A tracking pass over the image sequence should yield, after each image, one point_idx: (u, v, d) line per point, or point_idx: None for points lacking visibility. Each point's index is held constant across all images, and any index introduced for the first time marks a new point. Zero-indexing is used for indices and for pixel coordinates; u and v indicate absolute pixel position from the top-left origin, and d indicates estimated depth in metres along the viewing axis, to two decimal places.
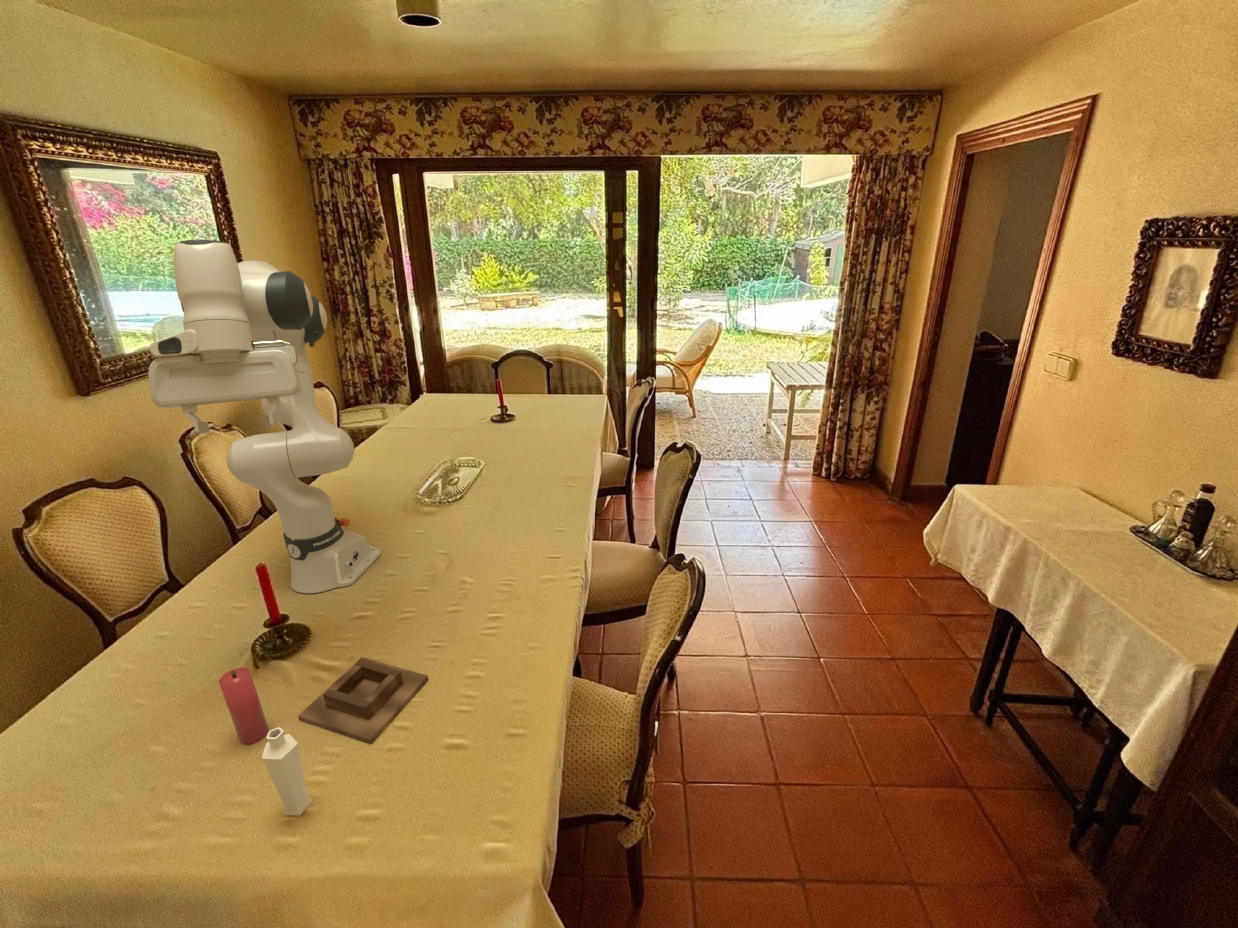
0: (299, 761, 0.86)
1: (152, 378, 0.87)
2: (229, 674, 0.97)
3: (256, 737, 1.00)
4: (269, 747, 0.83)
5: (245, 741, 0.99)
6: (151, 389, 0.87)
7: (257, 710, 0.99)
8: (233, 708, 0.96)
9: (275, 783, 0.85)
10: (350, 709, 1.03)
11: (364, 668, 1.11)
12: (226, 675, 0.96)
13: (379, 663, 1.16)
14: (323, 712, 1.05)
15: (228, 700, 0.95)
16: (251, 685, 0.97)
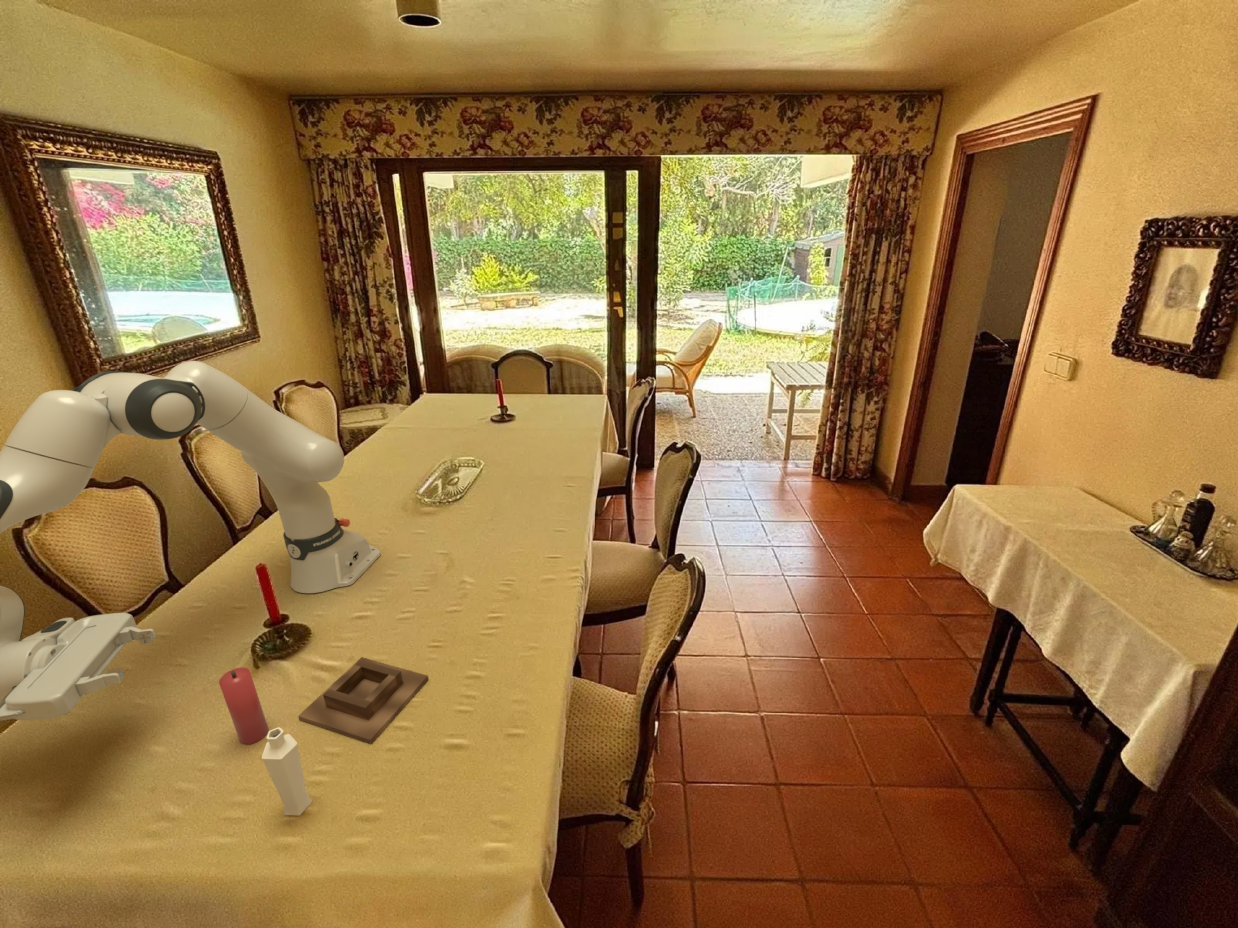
0: (299, 761, 0.86)
1: None
2: (229, 674, 0.97)
3: (256, 737, 1.00)
4: (269, 747, 0.83)
5: (245, 741, 0.99)
6: None
7: (257, 710, 0.99)
8: (233, 708, 0.96)
9: (275, 783, 0.85)
10: (350, 709, 1.03)
11: (364, 668, 1.11)
12: (226, 675, 0.96)
13: (379, 663, 1.16)
14: (323, 712, 1.05)
15: (228, 700, 0.95)
16: (251, 685, 0.97)
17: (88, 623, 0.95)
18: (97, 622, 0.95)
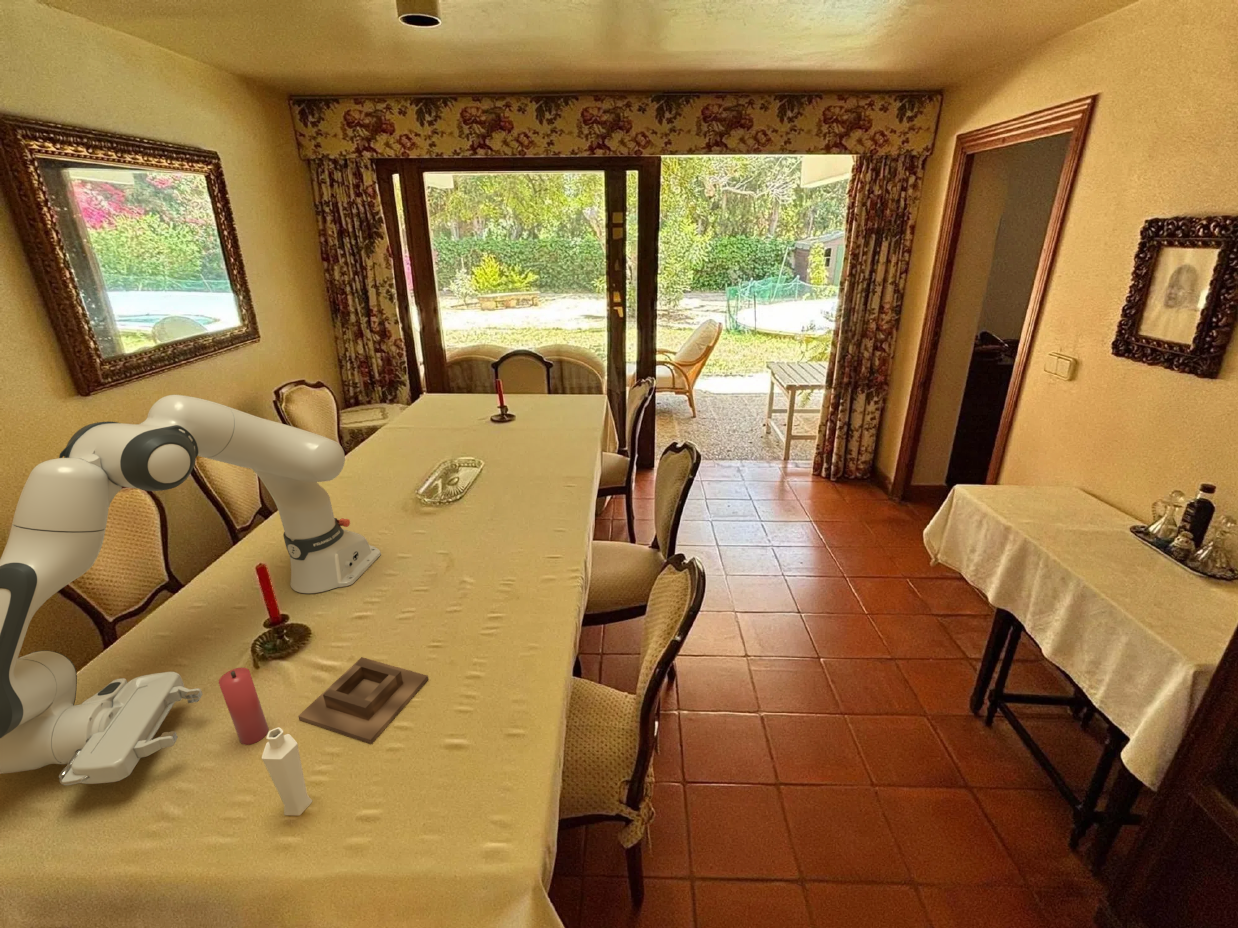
0: (299, 761, 0.86)
1: None
2: (229, 674, 0.97)
3: (256, 737, 1.00)
4: (269, 747, 0.83)
5: (245, 741, 0.99)
6: None
7: (257, 710, 0.99)
8: (233, 708, 0.96)
9: (275, 783, 0.85)
10: (350, 709, 1.03)
11: (364, 668, 1.11)
12: (225, 675, 0.96)
13: (379, 663, 1.16)
14: (323, 712, 1.05)
15: (228, 700, 0.95)
16: (251, 685, 0.97)
17: (140, 683, 1.01)
18: (148, 682, 1.02)
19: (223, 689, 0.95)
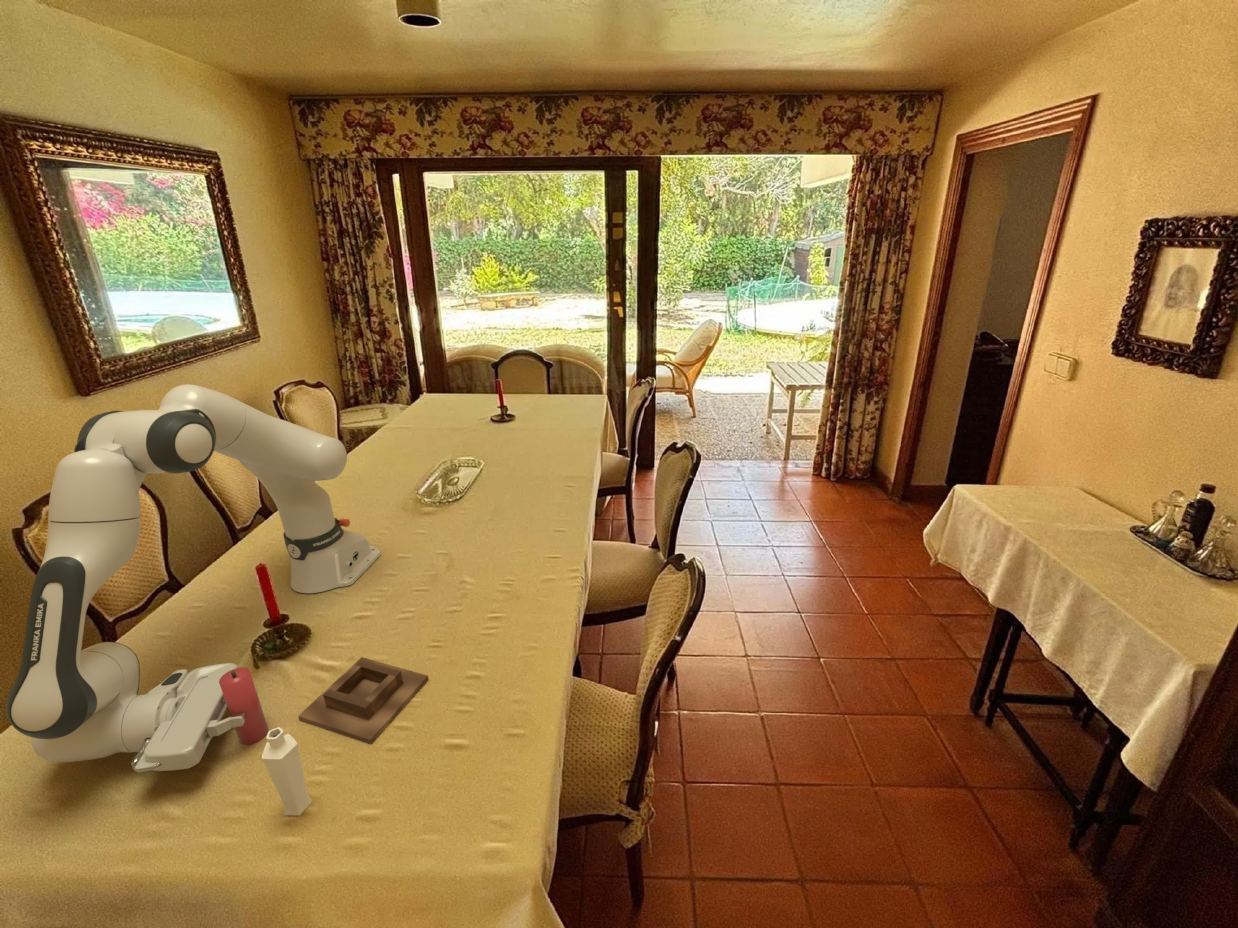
0: (299, 761, 0.86)
1: None
2: (229, 674, 0.97)
3: (256, 737, 1.00)
4: (269, 747, 0.83)
5: (245, 741, 0.99)
6: None
7: (257, 710, 0.99)
8: (233, 708, 0.96)
9: (275, 783, 0.85)
10: (350, 709, 1.03)
11: (364, 668, 1.11)
12: (226, 675, 0.96)
13: (379, 663, 1.16)
14: (323, 712, 1.05)
15: (228, 700, 0.95)
16: (251, 685, 0.97)
17: (200, 674, 1.03)
18: (208, 673, 1.03)
19: (223, 689, 0.95)
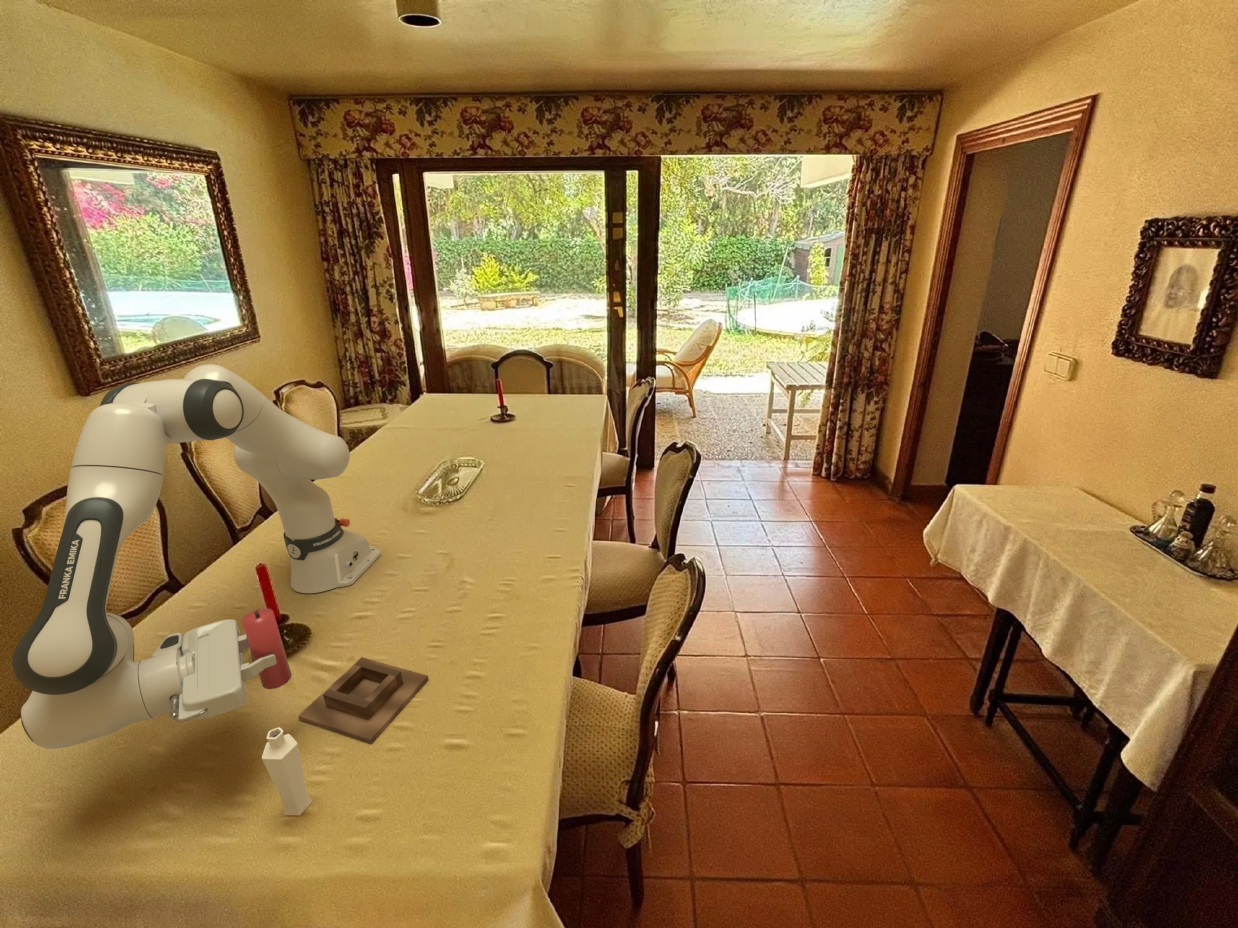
0: (299, 761, 0.86)
1: None
2: (249, 616, 0.93)
3: (284, 678, 0.97)
4: (269, 747, 0.83)
5: (273, 685, 0.96)
6: None
7: (283, 650, 0.96)
8: (262, 648, 0.93)
9: (275, 783, 0.85)
10: (350, 709, 1.03)
11: (364, 668, 1.11)
12: (246, 618, 0.92)
13: (379, 663, 1.16)
14: (323, 712, 1.05)
15: (256, 641, 0.92)
16: (276, 623, 0.95)
17: (198, 634, 0.96)
18: (206, 631, 0.96)
19: (251, 629, 0.91)
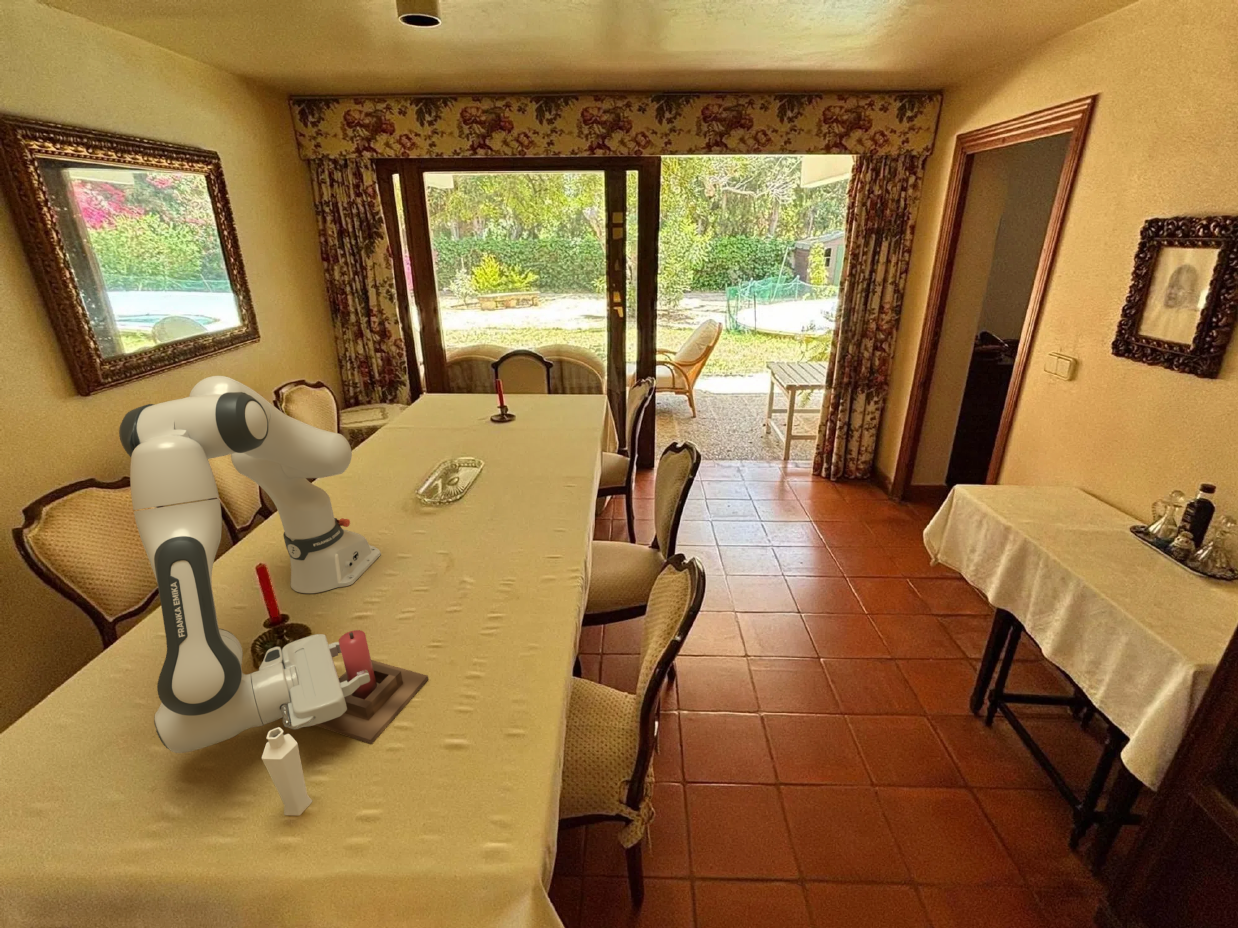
0: (299, 761, 0.86)
1: None
2: (344, 637, 1.04)
3: None
4: (269, 747, 0.83)
5: None
6: None
7: (372, 667, 1.07)
8: (356, 666, 1.03)
9: (275, 783, 0.85)
10: (350, 709, 1.03)
11: None
12: (342, 639, 1.03)
13: (379, 663, 1.16)
14: None
15: (351, 660, 1.03)
16: None
17: (294, 648, 1.06)
18: (301, 645, 1.06)
19: (348, 649, 1.02)
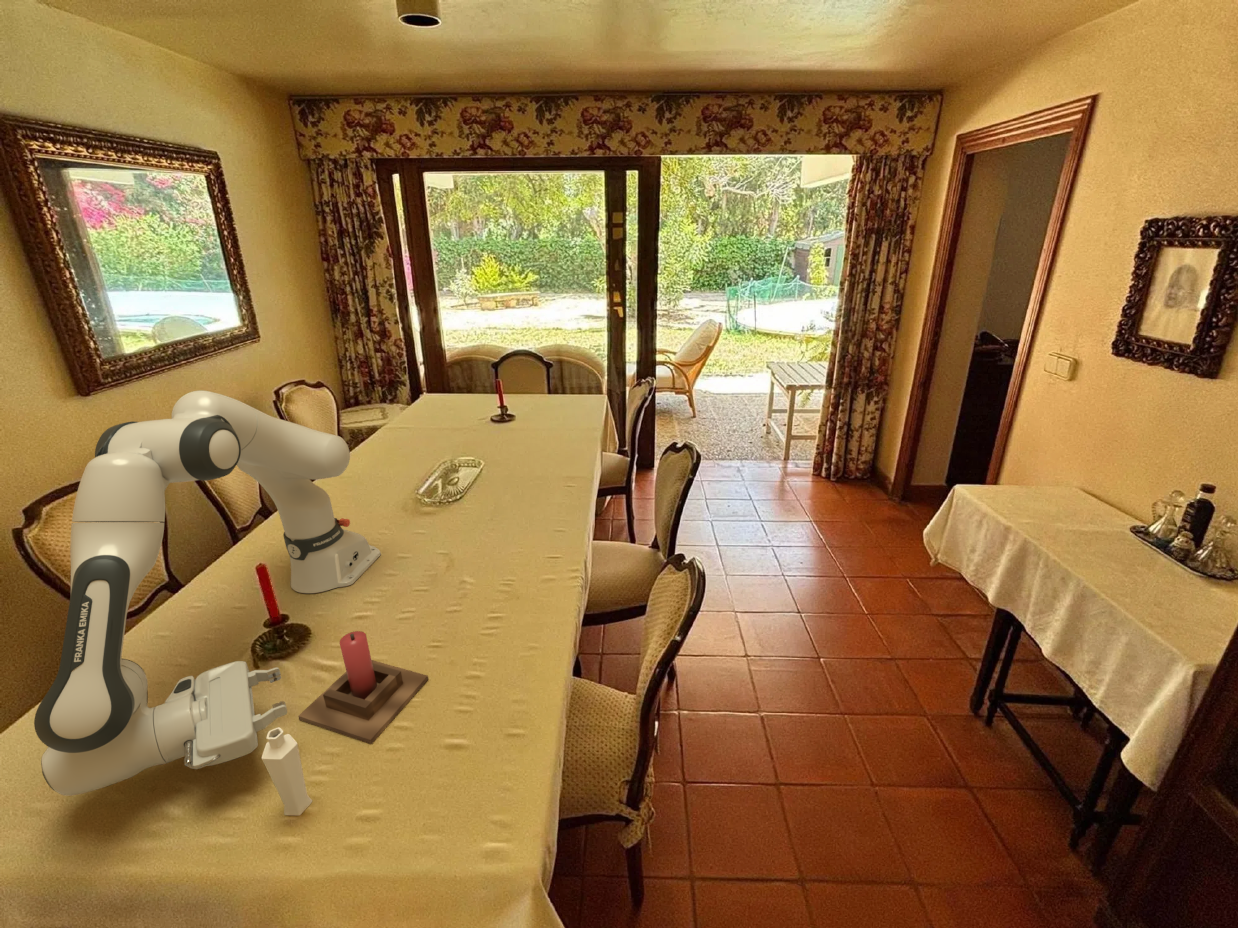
0: (299, 761, 0.86)
1: None
2: (345, 638, 1.03)
3: None
4: (269, 747, 0.83)
5: None
6: None
7: (372, 668, 1.07)
8: (356, 667, 1.03)
9: (275, 783, 0.85)
10: (350, 709, 1.03)
11: None
12: (343, 640, 1.03)
13: (379, 663, 1.16)
14: (323, 712, 1.05)
15: (352, 661, 1.02)
16: None
17: (209, 677, 0.99)
18: (217, 674, 1.00)
19: (348, 650, 1.02)
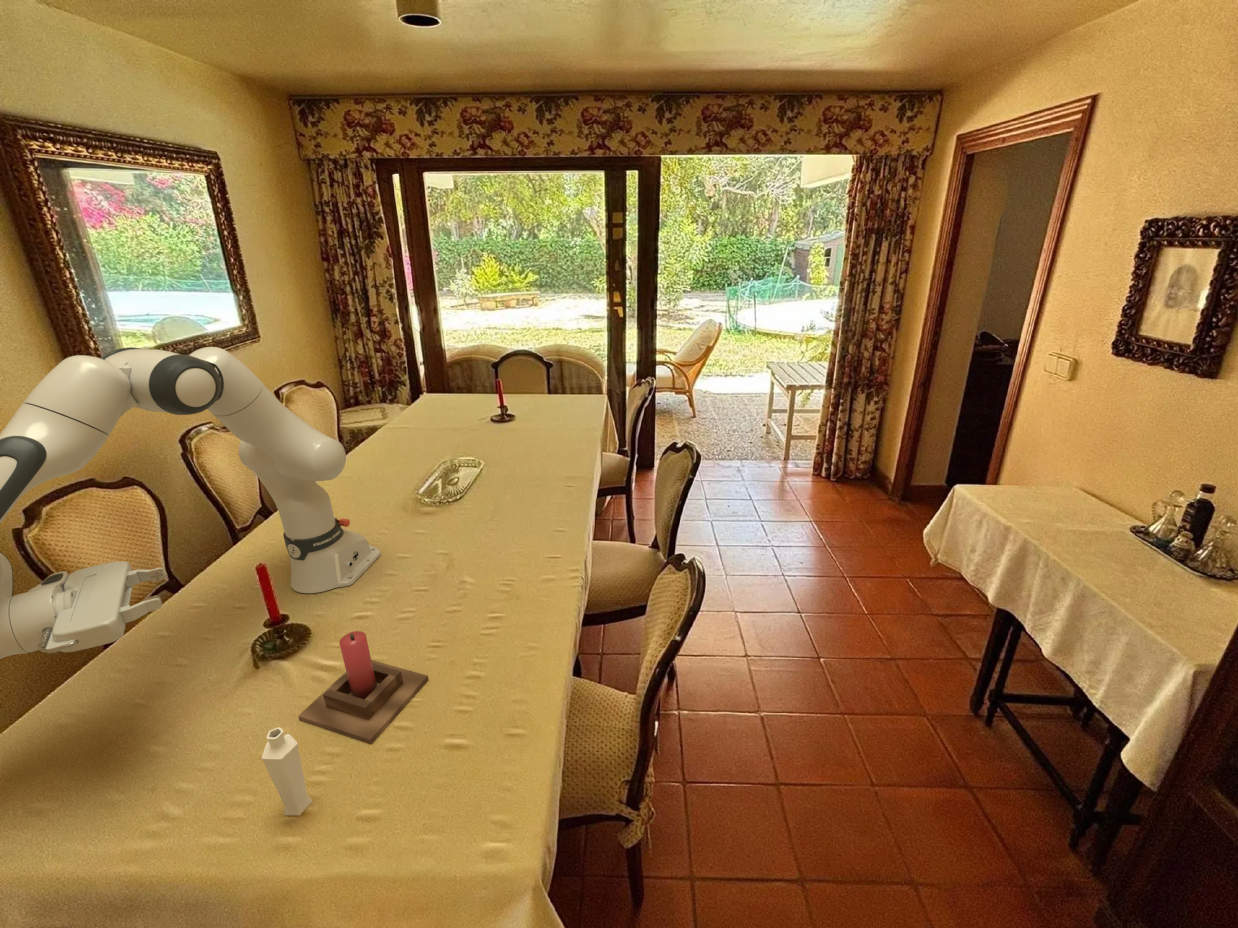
0: (299, 761, 0.86)
1: None
2: (345, 639, 1.03)
3: None
4: (269, 747, 0.83)
5: None
6: None
7: (372, 668, 1.07)
8: (356, 667, 1.03)
9: (275, 783, 0.85)
10: (350, 709, 1.03)
11: None
12: (343, 640, 1.03)
13: (379, 663, 1.16)
14: (323, 712, 1.05)
15: (352, 661, 1.02)
16: None
17: (85, 574, 0.94)
18: (95, 571, 0.95)
19: (348, 650, 1.02)
